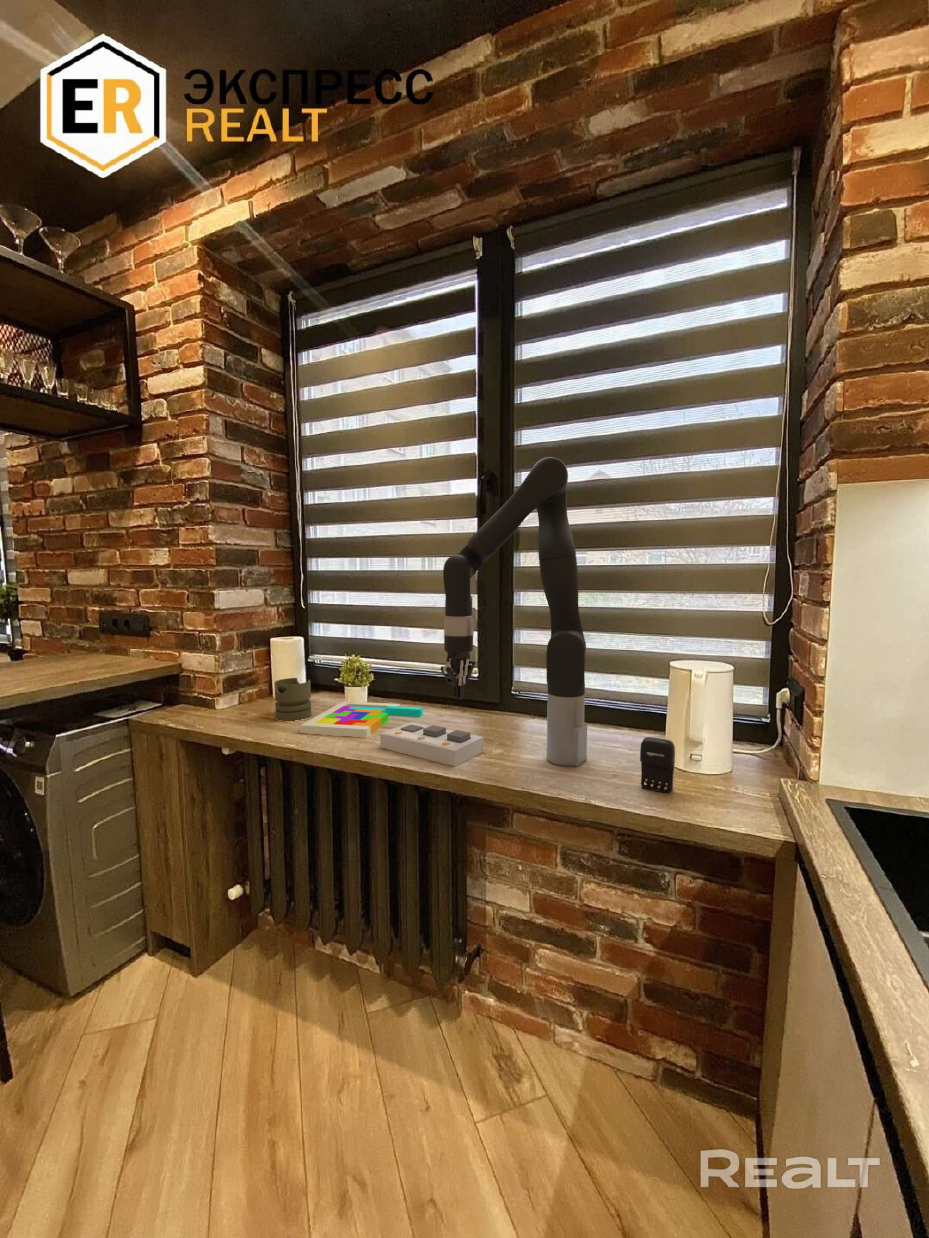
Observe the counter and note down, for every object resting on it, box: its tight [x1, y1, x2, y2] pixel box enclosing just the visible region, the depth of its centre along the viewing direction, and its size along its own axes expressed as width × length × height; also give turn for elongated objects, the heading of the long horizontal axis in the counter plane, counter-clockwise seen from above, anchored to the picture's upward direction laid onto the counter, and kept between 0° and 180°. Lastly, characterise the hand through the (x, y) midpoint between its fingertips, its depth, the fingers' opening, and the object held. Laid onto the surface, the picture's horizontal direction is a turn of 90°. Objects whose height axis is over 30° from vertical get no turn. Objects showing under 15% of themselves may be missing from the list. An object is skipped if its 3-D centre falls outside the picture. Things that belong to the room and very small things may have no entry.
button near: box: [447, 729, 471, 743], centre depth 137 cm, size 4×4×3 cm
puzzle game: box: [299, 700, 424, 739], centre depth 167 cm, size 30×3×30 cm
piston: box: [273, 677, 312, 722], centre depth 173 cm, size 11×12×11 cm
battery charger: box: [639, 735, 676, 794], centre depth 114 cm, size 7×4×11 cm, turn 58°
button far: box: [401, 725, 423, 732], centre depth 146 cm, size 4×4×3 cm
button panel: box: [379, 721, 484, 767], centre depth 141 cm, size 25×13×4 cm, turn 56°
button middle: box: [423, 724, 447, 738], centre depth 142 cm, size 4×4×3 cm
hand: (458, 698), depth 136 cm, fingers closed
